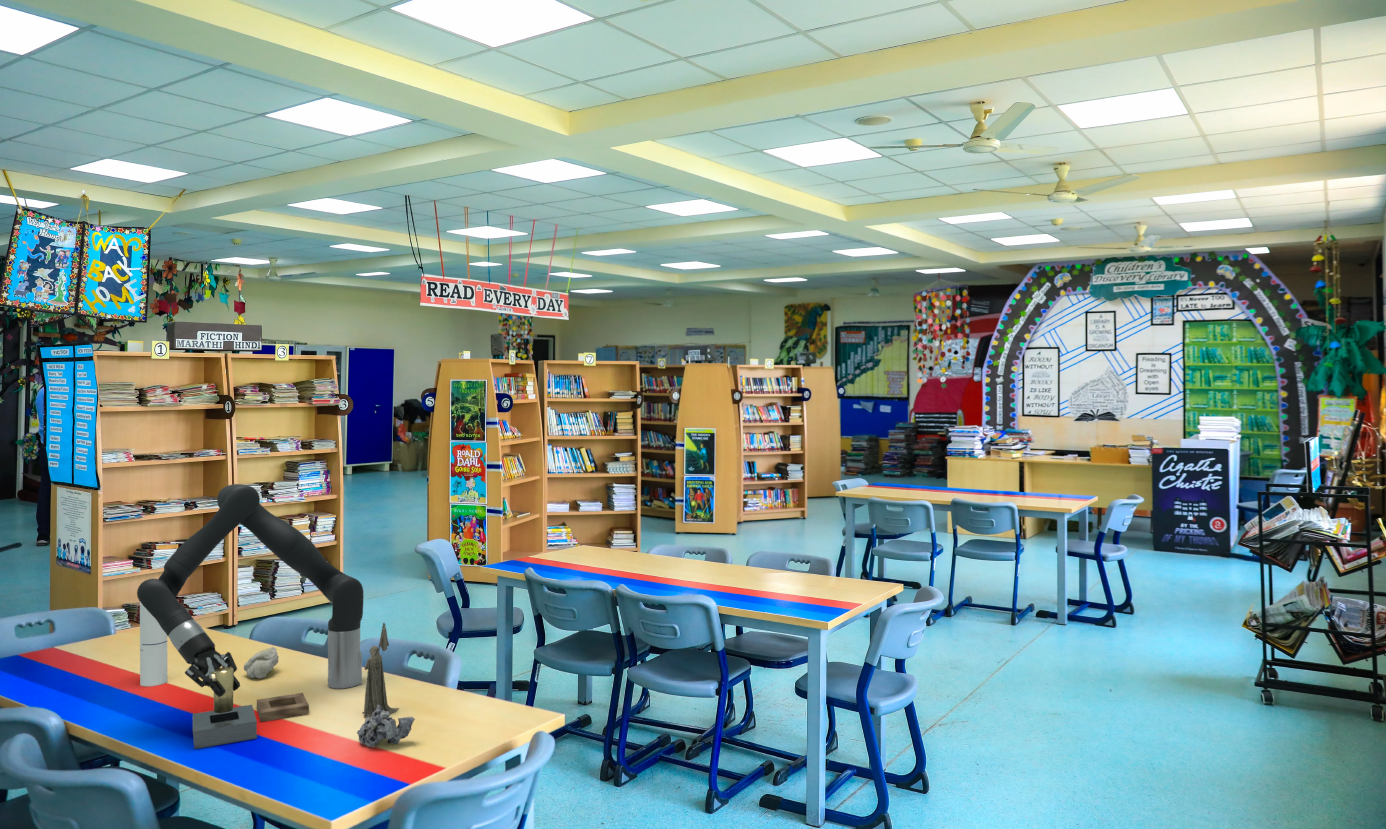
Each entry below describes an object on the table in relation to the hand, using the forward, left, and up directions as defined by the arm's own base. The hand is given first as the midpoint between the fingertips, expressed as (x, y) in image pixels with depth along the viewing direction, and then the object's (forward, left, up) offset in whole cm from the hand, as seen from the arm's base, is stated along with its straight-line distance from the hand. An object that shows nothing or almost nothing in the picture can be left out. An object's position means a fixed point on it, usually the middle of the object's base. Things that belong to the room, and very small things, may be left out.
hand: (230, 691), depth 229 cm
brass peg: (+1, -1, -5) cm, 5 cm away
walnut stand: (-14, -12, -12) cm, 22 cm away
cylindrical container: (+17, -58, -12) cm, 62 cm away
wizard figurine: (-37, +2, -12) cm, 39 cm away
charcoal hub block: (+1, -1, -12) cm, 12 cm away
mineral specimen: (-33, +25, -12) cm, 43 cm away
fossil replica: (-12, -50, -12) cm, 53 cm away
